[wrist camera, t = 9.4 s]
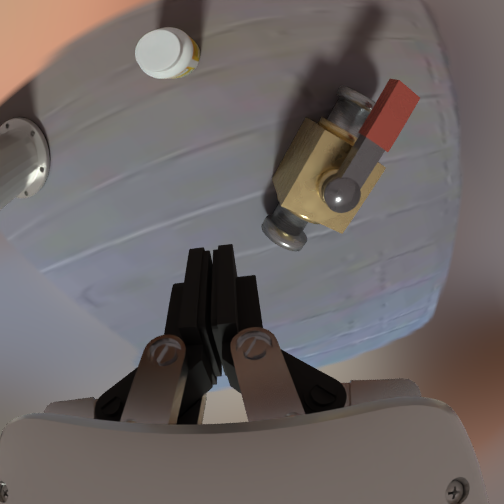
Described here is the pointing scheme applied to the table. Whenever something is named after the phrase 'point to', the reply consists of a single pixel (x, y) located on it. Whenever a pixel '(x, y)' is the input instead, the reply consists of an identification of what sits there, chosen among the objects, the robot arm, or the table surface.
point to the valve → (317, 172)
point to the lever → (369, 146)
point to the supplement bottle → (167, 53)
